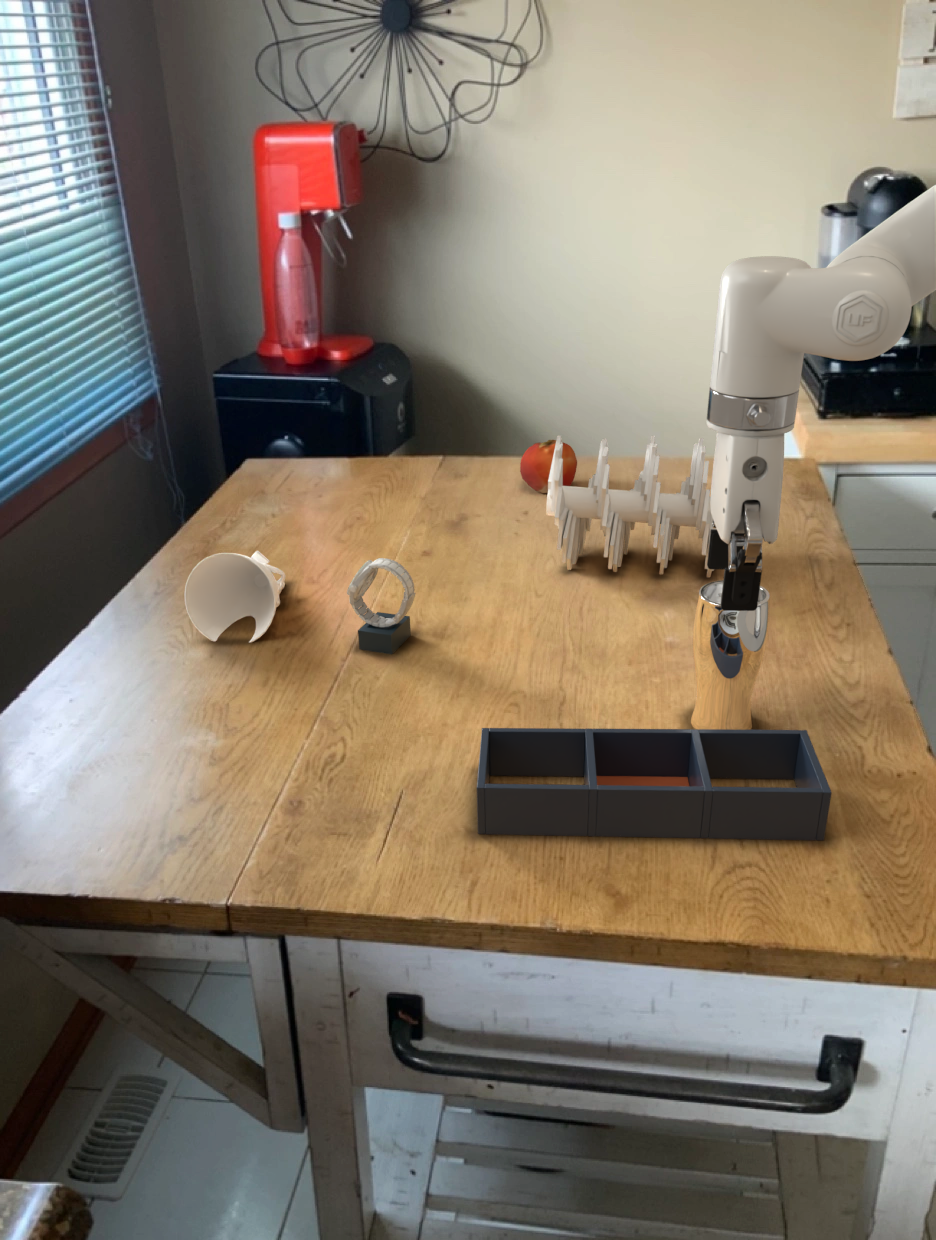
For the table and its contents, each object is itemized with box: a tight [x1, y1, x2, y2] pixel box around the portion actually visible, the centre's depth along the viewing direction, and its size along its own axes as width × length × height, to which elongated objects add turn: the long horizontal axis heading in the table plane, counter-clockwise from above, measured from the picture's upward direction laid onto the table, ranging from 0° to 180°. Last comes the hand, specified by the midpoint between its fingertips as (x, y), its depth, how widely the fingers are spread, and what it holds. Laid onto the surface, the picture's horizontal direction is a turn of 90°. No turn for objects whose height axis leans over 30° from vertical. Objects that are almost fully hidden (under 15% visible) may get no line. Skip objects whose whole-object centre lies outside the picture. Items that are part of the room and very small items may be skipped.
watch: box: [346, 557, 416, 655], centre depth 134 cm, size 6×8×11 cm
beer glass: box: [690, 579, 771, 730], centre depth 112 cm, size 7×7×15 cm
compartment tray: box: [476, 727, 833, 841], centre depth 102 cm, size 30×10×6 cm, turn 84°
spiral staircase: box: [545, 435, 717, 578], centre depth 149 cm, size 18×18×25 cm
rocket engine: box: [184, 550, 286, 643], centre depth 145 cm, size 12×12×18 cm
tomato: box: [519, 439, 578, 494], centre depth 182 cm, size 9×9×8 cm
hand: (730, 588), depth 108 cm, fingers open, 9 cm apart
